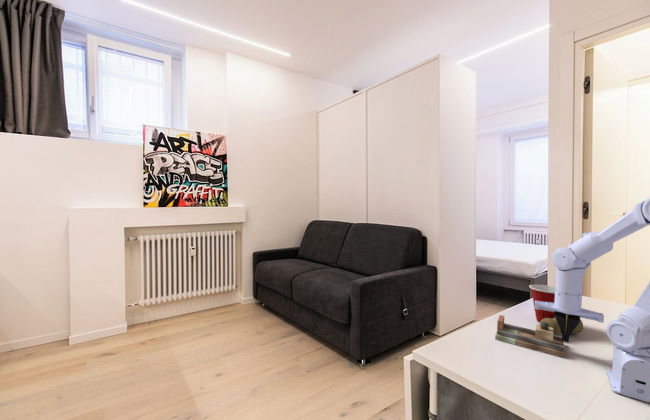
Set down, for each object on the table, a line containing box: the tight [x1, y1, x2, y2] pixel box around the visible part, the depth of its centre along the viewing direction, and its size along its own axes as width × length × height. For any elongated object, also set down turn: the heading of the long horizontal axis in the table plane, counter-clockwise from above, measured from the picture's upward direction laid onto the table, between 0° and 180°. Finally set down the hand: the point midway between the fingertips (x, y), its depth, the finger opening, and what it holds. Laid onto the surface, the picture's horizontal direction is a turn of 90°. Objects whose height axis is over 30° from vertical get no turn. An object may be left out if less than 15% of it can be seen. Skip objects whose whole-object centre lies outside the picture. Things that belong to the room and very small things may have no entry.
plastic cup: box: [528, 284, 555, 324], centre depth 99 cm, size 11×11×12 cm
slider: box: [534, 322, 553, 343], centre depth 84 cm, size 4×4×5 cm
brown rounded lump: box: [539, 315, 584, 336], centre depth 91 cm, size 6×6×11 cm
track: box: [494, 315, 565, 359], centre depth 86 cm, size 16×9×5 cm, turn 52°
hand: (565, 340), depth 81 cm, fingers closed
